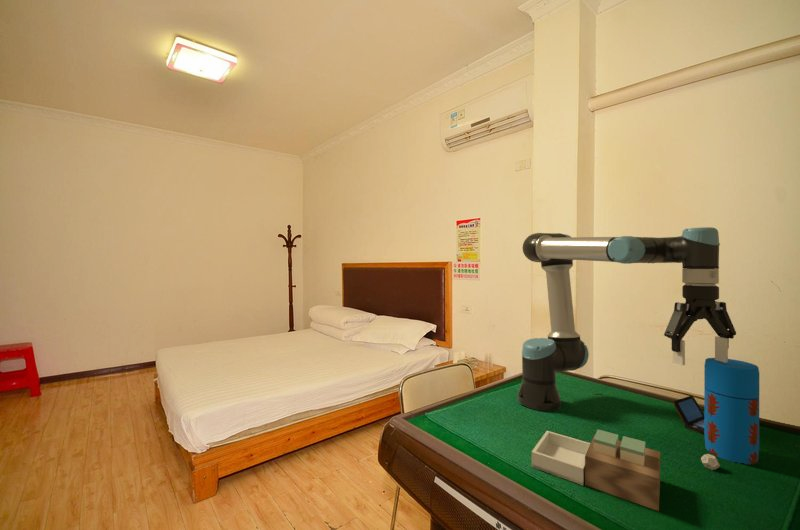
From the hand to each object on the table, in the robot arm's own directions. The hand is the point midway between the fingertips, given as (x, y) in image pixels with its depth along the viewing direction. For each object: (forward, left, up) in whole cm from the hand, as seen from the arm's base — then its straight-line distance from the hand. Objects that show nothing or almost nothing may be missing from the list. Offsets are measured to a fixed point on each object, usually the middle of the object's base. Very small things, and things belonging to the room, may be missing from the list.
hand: (700, 362), depth 93 cm
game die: (+2, -5, -26) cm, 26 cm away
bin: (-29, -26, -25) cm, 47 cm away
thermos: (+7, +7, -26) cm, 27 cm away
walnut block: (-15, -26, -25) cm, 40 cm away
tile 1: (-19, -26, -18) cm, 37 cm away
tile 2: (-13, -26, -18) cm, 35 cm away
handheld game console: (+1, +23, -26) cm, 34 cm away
